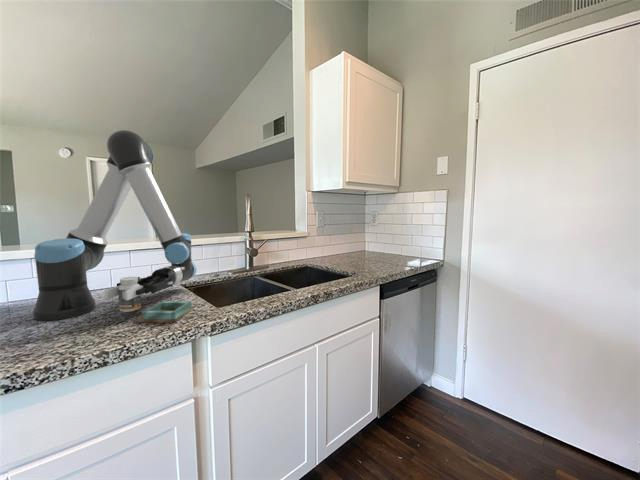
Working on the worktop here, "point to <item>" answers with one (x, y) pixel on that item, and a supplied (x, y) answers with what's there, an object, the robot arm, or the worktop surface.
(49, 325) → the worktop surface
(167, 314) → the socket board
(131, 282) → the pill bottle
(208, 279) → the worktop surface
